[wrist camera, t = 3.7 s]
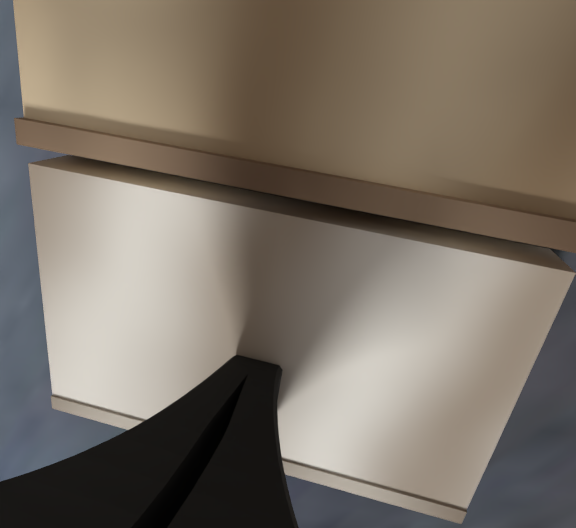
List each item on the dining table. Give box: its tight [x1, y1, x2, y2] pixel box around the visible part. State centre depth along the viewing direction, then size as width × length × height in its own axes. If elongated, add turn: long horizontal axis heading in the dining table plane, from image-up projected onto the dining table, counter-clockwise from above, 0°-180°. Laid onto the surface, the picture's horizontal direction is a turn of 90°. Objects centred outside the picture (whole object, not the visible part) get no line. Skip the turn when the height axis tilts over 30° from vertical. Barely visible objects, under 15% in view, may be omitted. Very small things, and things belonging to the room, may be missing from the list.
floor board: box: [13, 0, 576, 253], centre depth 9 cm, size 13×6×2 cm, turn 81°
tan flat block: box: [28, 155, 575, 524], centre depth 12 cm, size 13×8×2 cm, turn 81°
